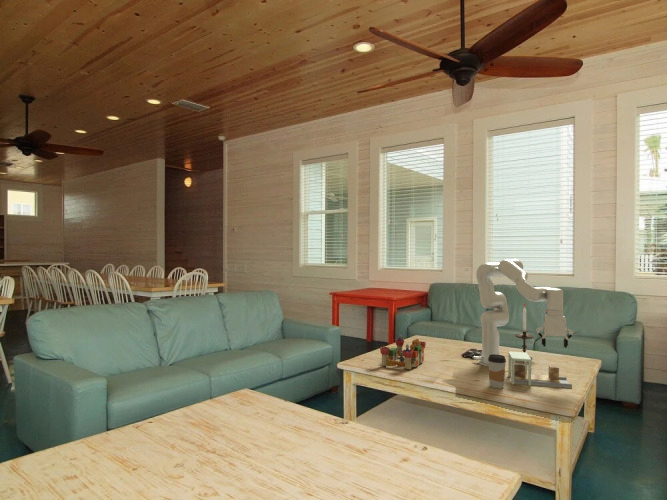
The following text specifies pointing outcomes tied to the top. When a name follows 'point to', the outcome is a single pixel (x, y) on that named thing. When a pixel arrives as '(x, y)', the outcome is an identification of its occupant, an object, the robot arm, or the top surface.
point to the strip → (551, 377)
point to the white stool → (519, 357)
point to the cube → (519, 370)
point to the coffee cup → (496, 370)
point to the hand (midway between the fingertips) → (554, 346)
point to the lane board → (546, 383)
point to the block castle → (403, 354)
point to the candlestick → (524, 332)
